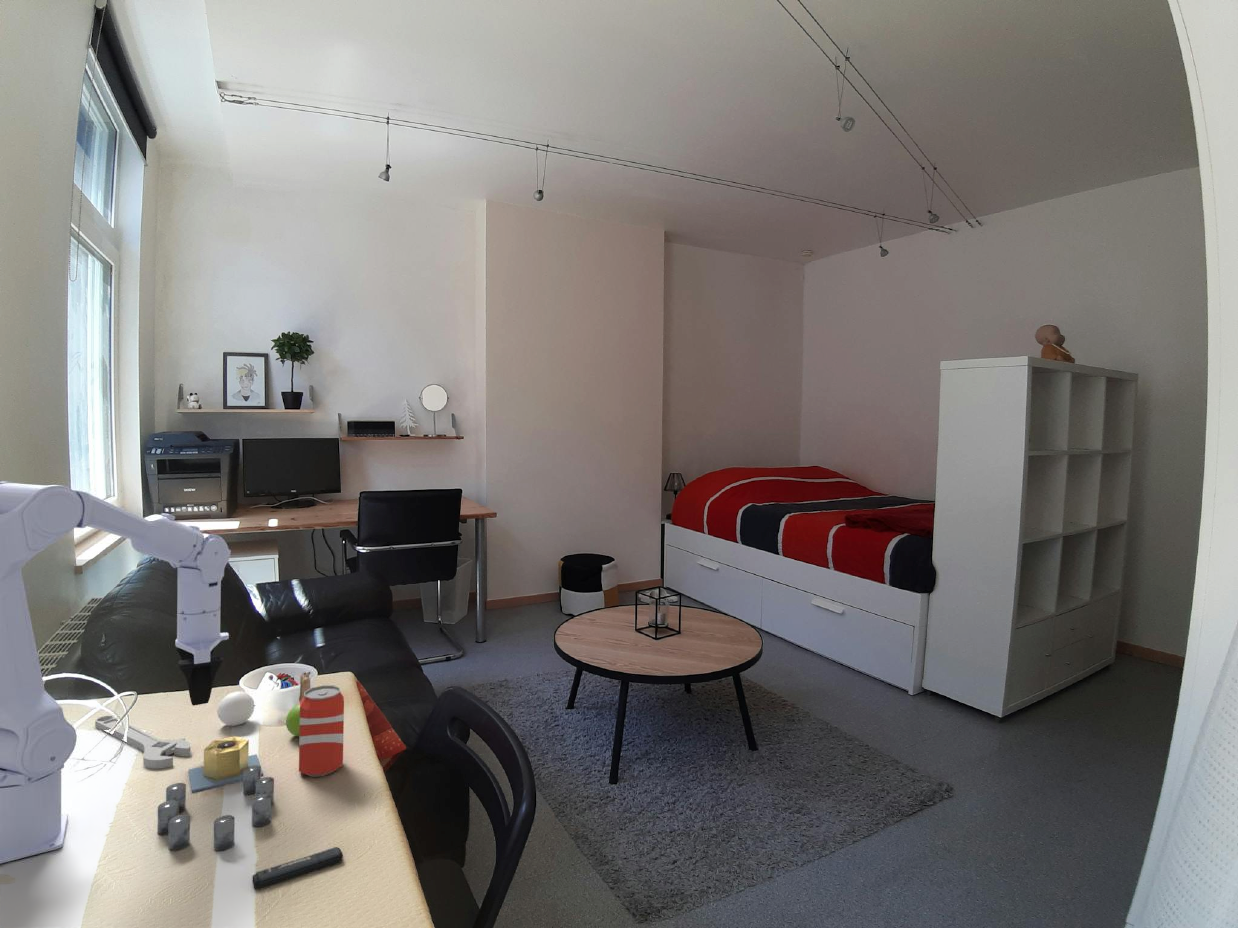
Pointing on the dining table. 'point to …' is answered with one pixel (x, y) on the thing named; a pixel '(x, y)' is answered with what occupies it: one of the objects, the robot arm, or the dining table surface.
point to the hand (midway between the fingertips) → (198, 695)
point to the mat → (202, 783)
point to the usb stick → (297, 868)
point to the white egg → (235, 708)
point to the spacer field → (223, 825)
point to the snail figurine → (298, 706)
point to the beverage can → (321, 730)
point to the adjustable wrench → (147, 743)
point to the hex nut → (226, 758)
